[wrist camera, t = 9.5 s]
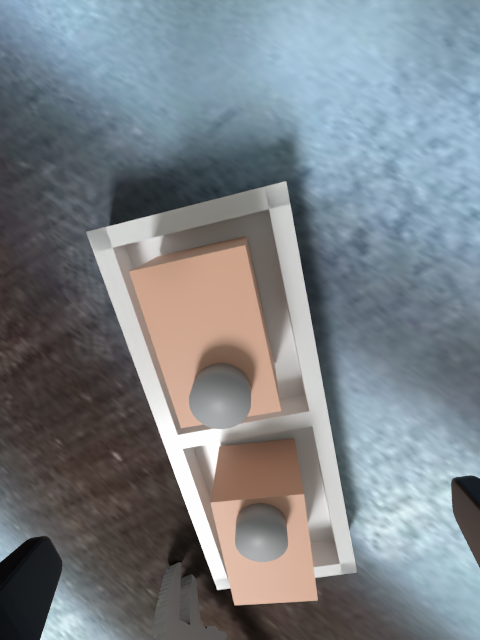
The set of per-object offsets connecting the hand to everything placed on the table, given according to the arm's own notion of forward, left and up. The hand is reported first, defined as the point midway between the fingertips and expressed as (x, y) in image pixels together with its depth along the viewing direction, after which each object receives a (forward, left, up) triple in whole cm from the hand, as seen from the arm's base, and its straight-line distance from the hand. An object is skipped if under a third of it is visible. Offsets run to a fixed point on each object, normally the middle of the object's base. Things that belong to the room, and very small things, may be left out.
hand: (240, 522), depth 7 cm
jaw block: (+1, -2, -11) cm, 11 cm away
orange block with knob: (+1, +10, -11) cm, 15 cm away
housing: (+1, +4, -12) cm, 13 cm away
